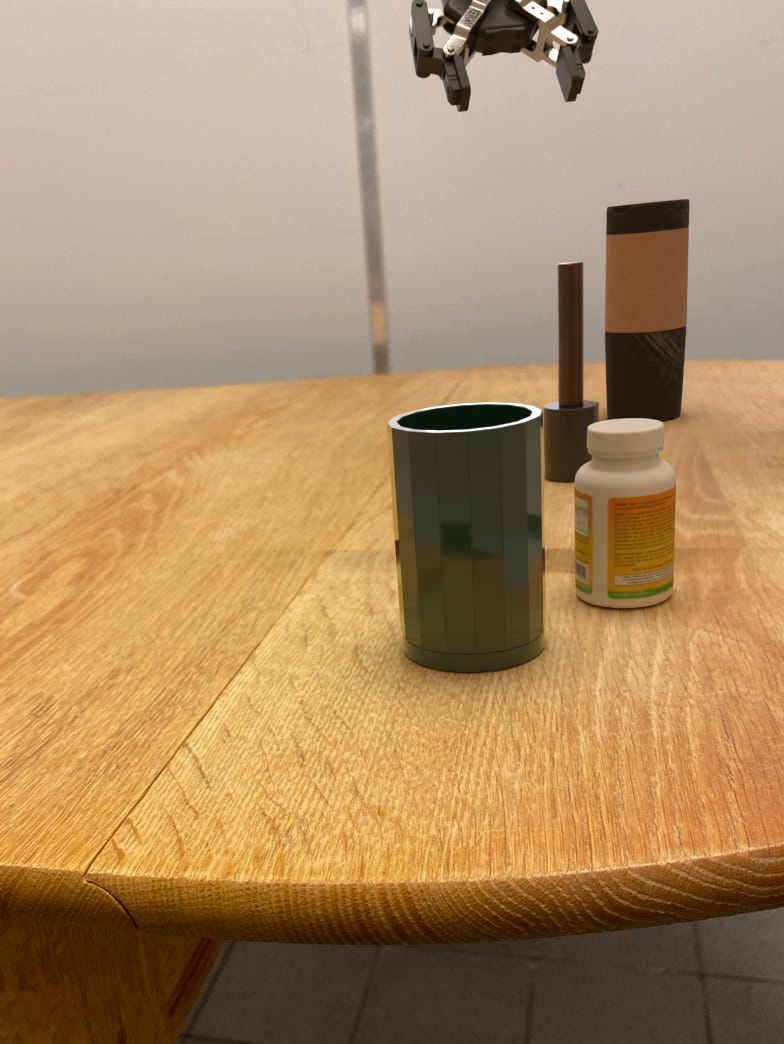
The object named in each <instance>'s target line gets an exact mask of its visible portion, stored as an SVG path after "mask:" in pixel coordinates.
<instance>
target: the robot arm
mask: <svg viewBox="0 0 784 1044" xmlns="http://www.w3.org/2000/svg"><path fill="white" fill-rule="evenodd" d="M440 2H441V3H440V4H441V7H431V8H428V2H427V1H426V0H412V2H411V7H410V18H409V25H408V26H409V29H408V34H409V40H410V47H411V53H412V60H413V66H414V71H415V75H416V77H418V78H420V79H427V78H429V77H430V76H431V75H435V76H438V77H439V79H440V80H441V81H442V85H443V88H444V93H445V96H446V99H447V102H448V103H449V104H450V106H452V107H453V106H456V110H457V112H458V113H465V112H468V111H469V107H470V101H471V96H472V87H471V83H470V79H469V75H468V72H467V68H466V67H467V66H468V64H469V63H470V62H471V60H473V58H474V56H475V55H476V53H479V54H481V56H482V57H486V56H494V55H497V54H500V53H504V54H519V53H522V54H524V55H525V56H527V57H529V58H530V59H531V60H533V61H535V62H537V63H540V62H542V61H545V62H546V63H547V64H549V65H551V66H552V67H553V68H555V75H556V79H557V81H558V82H557V83H558V84H559V88H560V91H561V93H562V97H563V100H564V102H565V103H572V102H576V101H577V98H578V95H581V93H582V90H583V85H584V82H585V78H586V74H587V72H586V69H585V67H584V64H589V63H590V62H591V60H592V57H593V50H594V47H595V44H596V40H597V38H598V35H599V28H598V27H597V24H596V22H595V20H594V19H595V18H594V17H593V15H592V13H591V10H590V8H589V6H588V4H587V1H586V0H440ZM440 27H442V29H443V30H444V32H445V33H447V34H448V35H450V37H449V39H448V40H446V43H445V44H444V45H443V47H435V43H434V37H433V36H435V35H436V33H437V30H438V28H440ZM537 32H538V35H537ZM536 35H537V39H536V40H535V39H533V38H534V37H535V36H536ZM554 42H555V43H557V44H559V47H558V49H557V48H556V47H555V46H554Z"/></svg>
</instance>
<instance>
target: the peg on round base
mask: <svg viewBox="0 0 784 1044" xmlns="http://www.w3.org/2000/svg"><path fill="white" fill-rule="evenodd" d="M556 274H557V275H556V276H557V277H556V279H557V281H556V283H557V284H556V285H557V289H556V291H557V293H556V295H557V386H558V387H557V391H558V392H557V393H558V394H557V395H558V398H557V399H558V401H553V402H550V403H547V404H545V405H544V406H543V410H542V411H543V452H544V480H545V481H547V482H551V483H557V484H558V483H560V484H573V483H574V484H575V476H576V473H577V471H578V470H579V469H580V468H581V467H582V466H583V465H584V464H586V463H588V462H590V461H591V460H592V455H591V454H589V453H588V448H587V429H588V426H589V425H591V424H593V423H596V422H600V404H599V402H597V401H594V400H588V399H584V261H569V262H568V261H567V262H559V263H558V264H557V265H556Z"/></svg>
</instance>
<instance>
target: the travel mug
mask: <svg viewBox="0 0 784 1044" xmlns="http://www.w3.org/2000/svg"><path fill="white" fill-rule="evenodd" d="M605 219H606V222H605V224H606V225H605V227H606V228H605V229H606V230H605V234H606V235H605V283H604V284H605V285H604V286H605V288H604V290H605V291H604V292H605V293H604V350H605V351H604V354H605V355H604V356H605V393H606V395H605V396H606V416H607V420H612V419H626V418H643V419H653V420H658V421H661V422H664V421H665V422H666V421H669V420H673V419H676V418H678V417H680V416H681V414H682V403H683V389H684V388H683V387H684V374H685V358H686V342H687V325H688V324H687V323H688V289H689V288H688V286H689V283H688V282H689V246H690V245H689V239H690V233H689V232H690V227H689V226H690V199H689V198H682V199H681V198H679V199H670V200H661V201H648V202H640V203H631V204H630V203H629V204H621V205H614V206H613V205H612V206H607V207H606V218H605Z"/></svg>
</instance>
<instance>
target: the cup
mask: <svg viewBox="0 0 784 1044" xmlns="http://www.w3.org/2000/svg"><path fill="white" fill-rule="evenodd" d="M386 432H387V434H386V435H387V447H388V448H387V449H388V462H389V464H388V465H389V478H390V490H391V491H390V493H391V507H392V518H393V520H392V522H393V535H394V551H395V563H396V564H395V567H396V581H397V593H398V594H397V595H398V608H399V610H398V611H399V623H400V625H399V626H400V632H401V637H402V649H403V652H404V655H406V657H407V658H409V660H410V661H412V662H414V663H415V664H418V665H420V666H423V667H426V668H429V669H432V670H433V669H434V670H437V671H438V670H439V671H442V672H451V673H452V672H454V673H483V672H492V671H498V670H504V669H509V668H513V667H517V666H519V665H522V664H525V663H527V662H529V661H532V660H533V659H534V658H536V657H537V656H538V655H540V654H541V653H542V651H544V648H545V646H546V624H547V603H546V602H547V600H546V599H547V598H546V596H547V595H546V594H547V593H546V591H547V590H546V529H545V526H546V524H545V523H546V521H545V478H544V414H543V410H542V409H540V408H538V407H536V406H534V405H531V404H530V405H529V404H525V403H524V404H523V403H516V402H493V401H492V402H489V401H488V402H468V403H467V402H466V403H454V404H448V405H447V404H446V405H436V406H433V407H432V406H430V407H426V408H425V407H424V408H420V409H416V410H415V409H414V410H411V411H407V412H404V413H402V414H399V415H395V416H393V417H392V418H390V420H388V421H387V422H386Z"/></svg>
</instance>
